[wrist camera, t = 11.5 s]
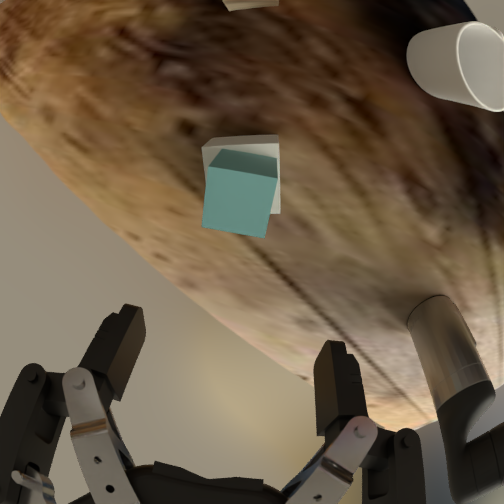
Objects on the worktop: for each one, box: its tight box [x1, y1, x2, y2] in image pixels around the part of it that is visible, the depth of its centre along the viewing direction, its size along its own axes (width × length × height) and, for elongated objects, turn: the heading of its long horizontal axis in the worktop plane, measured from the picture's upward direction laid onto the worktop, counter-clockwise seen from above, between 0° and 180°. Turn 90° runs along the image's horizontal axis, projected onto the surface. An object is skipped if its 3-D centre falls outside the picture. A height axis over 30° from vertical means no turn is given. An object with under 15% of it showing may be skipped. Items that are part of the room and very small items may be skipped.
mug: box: [406, 21, 504, 112], centre depth 15 cm, size 12×8×10 cm
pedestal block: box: [202, 135, 280, 214], centre depth 28 cm, size 7×7×5 cm
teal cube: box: [202, 149, 278, 238], centre depth 23 cm, size 5×5×6 cm
